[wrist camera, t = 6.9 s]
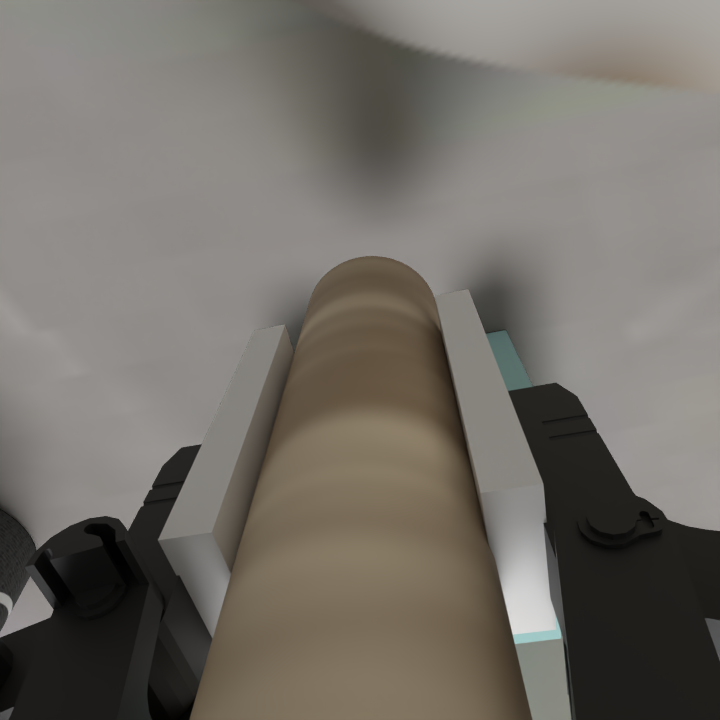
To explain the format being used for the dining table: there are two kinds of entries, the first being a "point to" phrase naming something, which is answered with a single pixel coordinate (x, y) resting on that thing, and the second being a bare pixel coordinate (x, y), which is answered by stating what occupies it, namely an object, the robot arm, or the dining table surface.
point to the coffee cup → (12, 563)
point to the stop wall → (545, 678)
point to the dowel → (365, 532)
